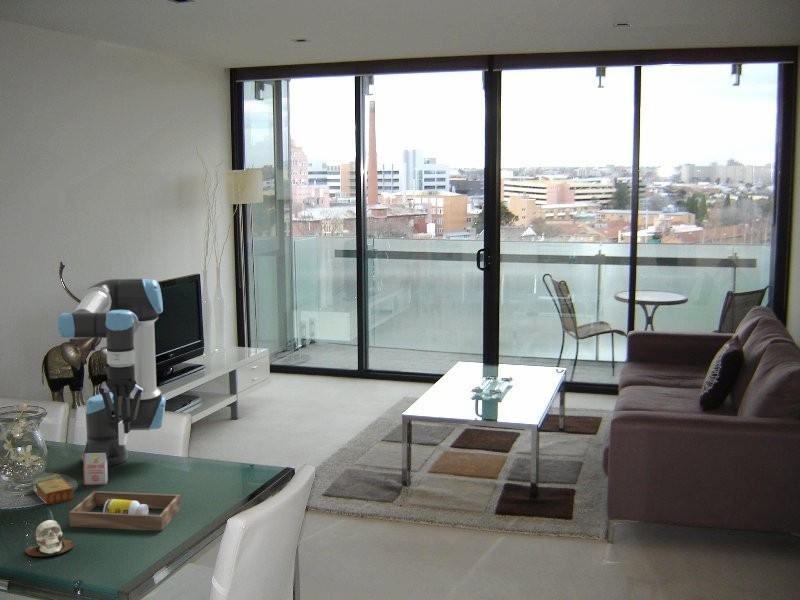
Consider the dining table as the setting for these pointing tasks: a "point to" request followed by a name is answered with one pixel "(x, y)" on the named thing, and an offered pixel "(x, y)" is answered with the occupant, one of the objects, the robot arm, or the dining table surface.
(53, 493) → the carton
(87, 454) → the white red printed box
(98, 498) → the walnut frame
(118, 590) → the dining table surface
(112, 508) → the pill bottle
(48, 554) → the skull
